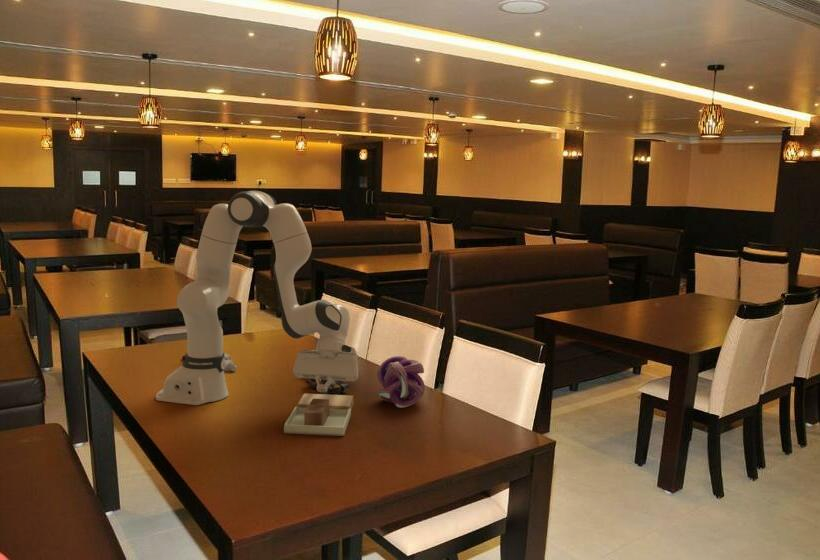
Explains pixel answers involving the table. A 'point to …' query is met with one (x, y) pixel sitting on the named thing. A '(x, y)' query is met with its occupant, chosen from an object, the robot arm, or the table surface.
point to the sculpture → (401, 381)
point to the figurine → (334, 387)
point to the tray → (332, 426)
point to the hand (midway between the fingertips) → (321, 390)
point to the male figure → (229, 363)
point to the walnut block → (317, 412)
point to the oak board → (334, 401)
